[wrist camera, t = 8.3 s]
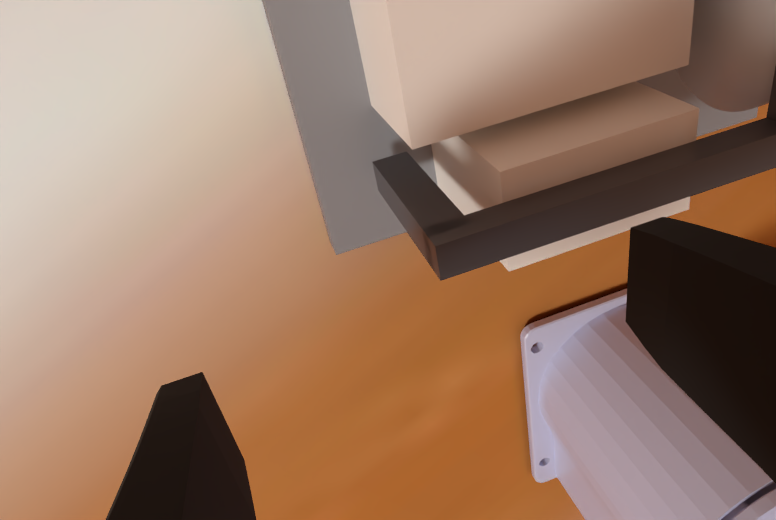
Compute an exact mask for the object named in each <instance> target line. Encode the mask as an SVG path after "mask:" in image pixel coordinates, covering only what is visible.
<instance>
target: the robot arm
mask: <svg viewBox="0 0 776 520" xmlns="http://www.w3.org/2000/svg"><path fill="white" fill-rule="evenodd" d="M520 339H521V350H522V362H523V374H524V386H525V398H526V410H527V422H528V434H529V446H530V458H531V469H532V475H533V477H534V479H535V480H536V481H537V482H541V483H543V482H546V481H549V480H551V479H554V478H556V477H557V478H558V479H559V481H560V482H561V484H562V485H563V487H564V488H565V490H566V491H567V493H568V494H569V496H570V497H571V499H572V500H573V502H574V503H575V505H576V506H577V508H578V509H579V511H580V512H581V514H582V515H583V517H584V518H585V520H776V248H774V247H771V246H768V245H764V244H761V243H757V242H754V241H751V240H747V239H744V238H741V237H737V236H734V235H730V234H727V233H724V232H720V231H717V230H713V229H710V228H706V227H703V226H699V225H695V224H692V223H688V222H684V221H680V220H676V219H671V218H667V217H660V218H658V219H655V220H652V221H649V222H646V223H643V224H640V225H637V226H634V227H631V230H630V248H629V266H628V284H627V289H624V290H621V291H618V292H616V293H613V294H610V295H607V296H605V297H602V298H599V299H596V300H594V301H591V302H588V303H585V304H583V305H580V306H577V307H574V308H571V309H569V310H566V311H563V312H560V313H558V314H555V315H552V316H549V317H547V318H544V319H541V320H538V321H536V322H533V323H530V324H529V325H527V326H526V327H525V328H524V329H523V330H522V332H521V336H520ZM536 343H537V344H536ZM534 344H536V345H534ZM533 345H534V346H533ZM532 346H533V347H532ZM106 520H256V516H255V511H254V506H253V500H252V495H251V490H250V485H249V481H248V476H247V471H246V466H245V461H244V458H243V456H242V454H241V452H240V450H239V448H238V446H237V444H236V442H235V440H234V437H233V435H232V433H231V431H230V429H229V427H228V425H227V423H226V421H225V419H224V416H223V414H222V412H221V410H220V408H219V406H218V404H217V402H216V400H215V398H214V396H213V393H212V391H211V389H210V387H209V385H208V383H207V381H206V379H205V377H204V375H203V372H201V373H198V374H195V375H192V376H189V377H186V378H183V379H180V380H177V381H174V382H171V383H168V384H165V385H162V386H161V387H160V389H159V391H158V393H157V394H156V397H155V400H154V403H153V405H152V408H151V411H150V413H149V416H148V419H147V421H146V424H145V427H144V429H143V432H142V434H141V437H140V440H139V442H138V445H137V447H136V450H135V452H134V455H133V457H132V460H131V462H130V465H129V467H128V470H127V472H126V474H125V477H124V479H123V481H122V483H121V486H120V488H119V490H118V493H117V495H116V497H115V500H114V502H113V504H112V507H111V509H110V511H109V513H108V516H107V518H106Z"/></svg>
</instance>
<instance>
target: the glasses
mask: <svg viewBox="0 0 776 520" xmlns="http://www.w3.org/2000/svg"><path fill="white" fill-rule="evenodd" d="M677 71H678V73H679V75H680V77H681V79H682V80H683V81H684V83H685V84H686V86H687V87H688V88H689V89H690V91H691V92H692V93H693V94H694V95H695V96H696V97H697V98H698V99H700V100H701V101H702V102H704V103H705V104H707V105H709V106H711V107H713V108H715V109H718V110H721V111H727V112H740V111H745V110H749V109H752V108H755V107H759V106H762V105H765V104H768V103H769V106H768V112H767V118H764V119H761V120H758V121H755V122H752V123H749V124H746V125H742V126H739V127H736V128H733V129H730V130H727V131H724V132H721V133H718V134H715V135H712V136H708V137H705V138H702V139H699V140H696V141H693V142H690V143H687V144H684V145H681V146H677V147H674V148H671V149H668V150H665V151H662V152H659V153H656V154H653V155H650V156H646V157H643V158H640V159H637V160H634V161H631V162H628V163H625V164H622V165H619V166H615V167H612V168H609V169H606V170H603V171H600V172H597V173H594V174H591V175H588V176H584V177H581V178H578V179H575V180H572V181H569V182H566V183H563V184H560V185H557V186H554V187H550V188H547V189H544V190H541V191H538V192H535V193H532V194H529V195H526V196H523V197H519V198H516V199H513V200H510V201H507V202H504V203H501V204H498V205H495V206H492V207H488V208H485V209H482V210H479V211H476V212H473V213H470V214H467V215H463V213H462V212H461V211H460V210H459V209H458V208H457V207H456V206H455V205H454V203H453V202H452V201H451V200H450V199H449V198H448V197H447V196H446V195H445V193H444V192H443V191H442V190H441V189H440V188H439V187H438V186H437V185H436V183H435V182H434V181H433V180H432V179H431V178H430V177H429V176H428V175H427V173H426V172H425V171H424V170H423V169H422V168H421V167H420V166H419V165H418V163H417V162H416V161H415V160H414V159H413V158H412V157H411V156H410V155H409V153H408V152H407V151H406V152H403V153H399V154H396V155H393V156H390V157H386V158H383V159H380V160H376V161H373V162H372V163H373V168H374V173H375V177H376V182H377V187H378V191H379V192H380V194H381V195H382V197H383V198H384V200H385V201H386V202H387V204H388V205H389V207H390V208H391V210H392V211H393V213H394V214H395V215H396V217H397V218H398V220H399V221H400V223H401V224H402V226H403V227H404V228H405V230H406V231H407V233H408V234H409V236H410V237H411V239H412V240H413V241H414V243H415V244H416V246H417V247H418V249H419V250H420V251H421V253H422V254H423V256H424V257H425V259H426V260H427V262H428V263H429V264H430V266H431V267H432V269H433V270H434V272H435V273H436V275H437V276H438V277H439V279H440V280H444V279H447V278H450V277H453V276H456V275H459V274H462V273H465V272H468V271H471V270H474V269H477V268H480V267H483V266H486V265H489V264H491V263H494V262H497V261H500V260H503V259H506V258H509V257H512V256H515V255H518V254H521V253H524V252H527V251H530V250H533V249H536V248H539V247H542V246H545V245H548V244H551V243H554V242H557V241H560V240H563V239H565V238H568V237H571V236H574V235H577V234H580V233H583V232H586V231H589V230H592V229H595V228H598V227H601V226H604V225H607V224H610V223H613V222H616V221H619V220H622V219H625V218H628V217H631V216H634V215H636V214H639V213H642V212H645V211H648V210H651V209H654V208H657V207H660V206H663V205H666V204H669V203H672V202H675V201H678V200H681V199H684V198H687V197H690V196H693V195H696V194H699V193H702V192H705V191H707V190H710V189H713V188H716V187H719V186H722V185H725V184H728V183H731V182H734V181H737V180H740V179H743V178H746V177H749V176H752V175H755V174H758V173H761V172H764V171H767V170H770V169H773V168H776V0H695V1H694V12H693V23H692V34H691V45H690V56H689V65H687V66H683V67H680V68H677Z"/></svg>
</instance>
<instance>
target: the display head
mask: <svg viewBox="0 0 776 520" xmlns="http://www.w3.org/2000/svg"><path fill="white" fill-rule="evenodd" d="M694 1H695V0H262V2H263V5H264V9H265V12H266V16H267V19H268V23H269V26H270V30H271V33H272V37H273V41H274V44H275V48H276V51H277V55H278V58H279V62H280V65H281V69H282V72H283V76H284V79H285V83H286V87H287V90H288V94H289V97H290V101H291V104H292V108H293V111H294V115H295V118H296V122H297V125H298V129H299V132H300V136H301V140H302V143H303V147H304V150H305V154H306V157H307V161H308V164H309V168H310V171H311V175H312V178H313V182H314V186H315V189H316V193H317V196H318V200H319V203H320V207H321V210H322V214H323V217H324V221H325V224H326V228H327V232H328V235H329V239H330V242H331V244H332V247H333V249H334V251H335V253H336V255H338V254H341V253H344V252H347V251H350V250H353V249H356V248H359V247H362V246H365V245H368V244H371V243H374V242H377V241H380V240H383V239H386V238H390V237H393V236H396V235H399V234H402V233H405V232H407V231H406V230H405V228H404V227H403V226H402V224H401V223H400V221H399V220H398V218H397V217H396V215H395V214H394V213H393V211H392V210H391V208H390V207H389V205H388V204H387V202H386V201H385V200H384V198H383V197H382V195H381V194H380V192H379V191H378V187H377V182H376V177H375V173H374V168H373V163H372V162H373V161H376V160H380V159H383V158H386V157H390V156H393V155H396V154H399V153H403V152H406V151H407V152H408V153H409V155H410V156H411V157H412V158H413V159H414V160H415V161H416V162H417V163H418V165H419V166H420V167H421V168H422V169H423V170H424V171H425V172H426V173H427V175H428V176H429V177H430V178H431V179H432V180H433V181H434V182H435V183H436V185H437V186H438V187H439V188H440V189H441V190H442V191H443V192H444V193H445V195H446V196H447V197H448V198H449V199H450V200H451V201H452V202H453V203H454V205H455V206H456V207H457V208H458V209H459V210H460V211H461V212H462V213H463V215H467V214H470V213H473V212H476V211H479V210H482V209H485V208H488V207H492V206H495V205H498V204H501V203H504V202H507V201H510V200H513V199H516V198H519V197H523V196H526V195H529V194H532V193H535V192H538V191H541V190H544V189H547V188H550V187H554V186H557V185H560V184H563V183H566V182H569V181H572V180H575V179H578V178H581V177H584V176H588V175H591V174H594V173H597V172H600V171H603V170H606V169H609V168H612V167H615V166H619V165H622V164H625V163H628V162H631V161H634V160H637V159H640V158H643V157H646V156H650V155H653V154H656V153H659V152H662V151H665V150H668V149H671V148H674V147H677V146H681V145H684V144H687V143H690V142H693V141H696V137H698V136H701V135H704V134H707V133H710V132H713V131H716V130H719V129H722V128H725V127H728V126H731V125H735V124H738V123H741V122H744V121H747V120H750V119H753V118H756V117H757V111H758V107H755V108H752V109H749V110H745V111H740V112H727V111H721V110H718V109H715V108H713V107H711V106H709V105H707V104H705V103H704V102H702V101H701V100H700V99H698V98H697V97H696V96H695V95H694V94H693V93H692V92H691V91H690V89H689V88H688V87H687V86H686V84H685V83H684V81H683V80H682V79H681V77H680V75H679V73H678V71H677V68H680V67H683V66H687V65H689V56H690V45H691V34H692V23H693V12H694ZM689 203H690V197H687V198H684V199H681V200H678V201H675V202H672V203H669V204H666V205H663V206H660V207H657V208H654V209H651V210H648V211H645V212H642V213H639V214H636V215H634V216H631V217H628V218H625V219H622V220H619V221H616V222H613V223H610V224H607V225H604V226H601V227H598V228H595V229H592V230H589V231H586V232H583V233H580V234H577V235H574V236H571V237H568V238H565V239H563V240H560V241H557V242H554V243H551V244H548V245H545V246H542V247H539V248H536V249H533V250H530V251H527V252H524V253H521V254H518V255H515V256H512V257H509V258H506V259H503V260H500V262H501V263H502V264H503V265H504V266H505V268H506V269H507V270H508V271H512V270H515V269H518V268H521V267H524V266H527V265H529V264H532V263H535V262H538V261H541V260H544V259H547V258H550V257H553V256H555V255H558V254H561V253H564V252H567V251H570V250H573V249H576V248H579V247H581V246H584V245H587V244H590V243H593V242H596V241H599V240H602V239H604V238H607V237H610V236H613V235H616V234H619V233H622V232H625V231H628V230H630V229H631V227H634V226H637V225H640V224H643V223H646V222H649V221H652V220H655V219H658V218H660V217H668V216H671V215H674V214H677V213H679V212H682V211H685V210H688V209H689Z"/></svg>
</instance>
